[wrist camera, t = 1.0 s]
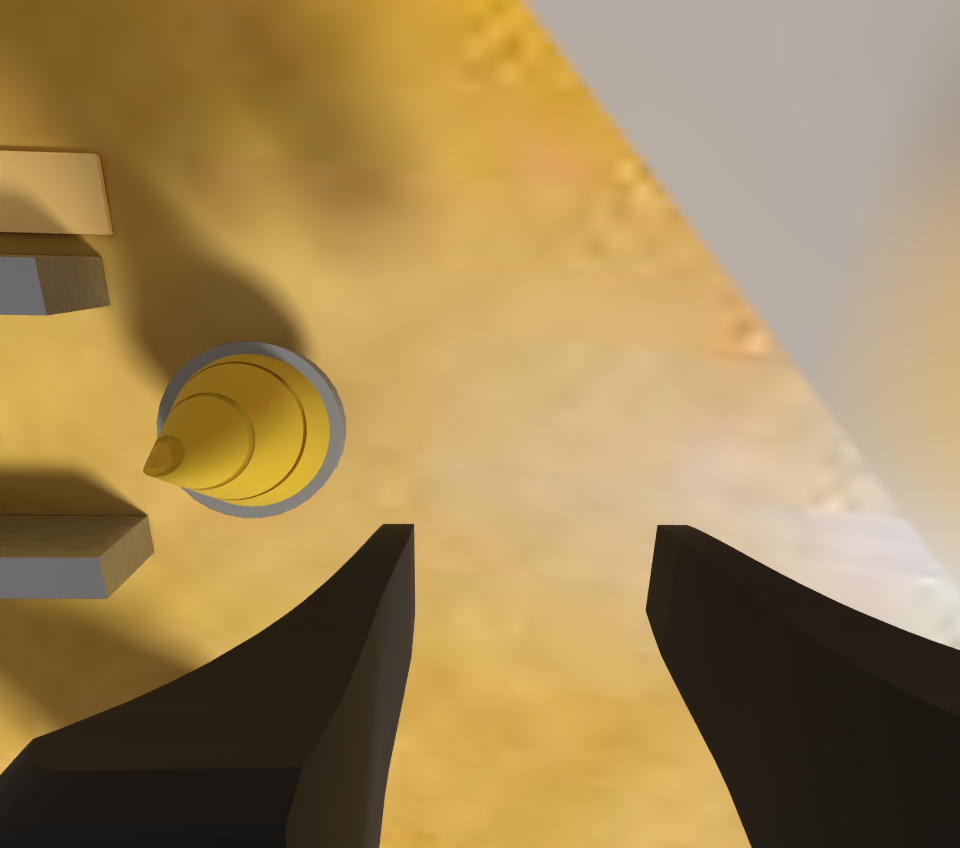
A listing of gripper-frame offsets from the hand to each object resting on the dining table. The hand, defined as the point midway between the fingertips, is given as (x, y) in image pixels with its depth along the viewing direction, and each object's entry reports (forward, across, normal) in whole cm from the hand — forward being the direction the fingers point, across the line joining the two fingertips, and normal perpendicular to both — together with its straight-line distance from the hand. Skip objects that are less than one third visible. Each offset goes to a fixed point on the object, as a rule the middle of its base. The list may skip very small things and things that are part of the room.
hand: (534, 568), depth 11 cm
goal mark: (+10, +17, -8) cm, 21 cm away
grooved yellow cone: (+10, +8, 0) cm, 13 cm away
